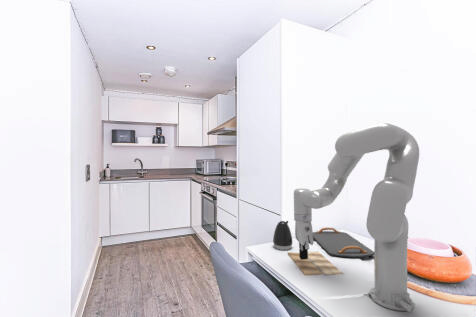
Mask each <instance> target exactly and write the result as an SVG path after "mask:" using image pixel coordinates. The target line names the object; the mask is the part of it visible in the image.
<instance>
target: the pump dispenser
mask: <svg viewBox="0 0 476 317" xmlns="http://www.w3.org/2000/svg"><path fill="white" fill-rule="evenodd" d="M288 224H289V220H280V221H279V222H277V225H276V226H275V229H274V233H273V236H272V237H273V238H272V243H273V245H274V248H275V249H277V250H279V251H289V250H290V249H291V248H292V245H293V236H292V232H291V228H290V226H289V225H288Z"/></svg>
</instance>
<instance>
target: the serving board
mask: <svg viewBox="0 0 476 317" xmlns="http://www.w3.org/2000/svg"><path fill="white" fill-rule="evenodd" d="M313 240H315V241H316V242H317V244H319V246H321V248H322V249H323V250H325V252H326V253H327V254H329V255H330V256H332V257H344V258H366V257H367V258H369V259H374V250H372V249H371V248H369V247H367V246H366V245H365V244H363V243H362V242H360V241H359V240H358V239H357V238H355V237H353V236H351V235H350V234H348V233H347V232H342V231H339V230H336V229H335V228H334V227H322V228H320V229H319V230H318V231H313Z"/></svg>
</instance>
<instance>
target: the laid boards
mask: <svg viewBox="0 0 476 317" xmlns="http://www.w3.org/2000/svg"><path fill="white" fill-rule="evenodd" d="M308 258H309V259H310V261H311V262H312V263H313V264H314V265H315V266H316V267H317V268H318V269H319V270H320V271H321V272H322V273H323V275H324V276H334V275H336V276H339V275H344V273H343V272H342V271H341V270H340V269H339V268H338V267H337V266H336V265H335V264H334V263H332V261H330V260H329V259H327V257H326V256H324V255H323V254H322V253H321V252H320V251H308Z"/></svg>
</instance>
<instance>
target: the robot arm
mask: <svg viewBox="0 0 476 317" xmlns="http://www.w3.org/2000/svg"><path fill="white" fill-rule="evenodd" d="M334 150H335V151H336V153H335V155H334V156H333V157H332V158H331V160H330V162H329V163H328V165H327V170H328V177H327V179H326V181H325V183H324V185H323V186H322V187H321V188H319V189H314V190H310V189H309V188H295V189H294V190H293V221H294V222H295V227H294V231H295V232H294V233H295V234H294V236H295V240H296V241H297V242H298V247H299V248H298V251H299V252H298V253H299V257H300V259H301V260H304V259H308V252H309V250H310V246H313V245H314V238H313V232H314V231H313V224H312V222H313V220H312V219H313V218H312V217H313V216H312V214H313V213H312V209H315V210H317V209H318V210H319V209H322V208H324V207H327V206H330V205H332V204H333V203H334V202H335V201H336V199H337V198H338V197H339V195H340V193H341V192H342V190H343V189H344V187H345V185H346V182H347V179H348V178H349V176H350V174H351V173H352V172H353V170H354V169H355V168H356V166H357V165H358V164H359V162H360V161H361V159H362V158H363V157H364V156H365V154H369V153H373V152H378V151H383V150H385V151H388V153H389V155H388V159H387V162H386V168H385V172H384V176H383V179H382V180H380V181H378V182H377V183H376V184H375V185H374V188H373V190H372V192H371V196H370V202H369V207H368V212H367V216H366V222H365V223H366V230H367V232H368V234H369V235H370V236H371V238H373V240H374V250H373V251H374V255H373V259H374V260H373V261H374V262H373V263H374V270H373V271H374V274H373V275H374V286H373V287H372V288H370V290H369V297H370V298H371V300H372V301H373V302H375V303H376V304H378V305H379V306H382V307H383V308H386V309H389V310H394V311H399V312H400V311H401V312H405V311H406V312H408V313H409V312H411V311H412V310H413V308H416V303H414V301H413V299H412V298H411V296H410V293H409V292H408V239H409V238H408V237H409V221H408V217H407V216H406V215H405V213H406V209H407V204H408V203H410V201H411V200H412V199H413V195H414V187H415V182H416V178H417V177H416V176H417V173H418V172H417V171H418V166H419V159H420V147H419V143H418V142H417V140H416V138H415V137H414V135H412V134H411V133H410V132H409V131H407V130H405V129H404V128H401V127H400V126H398V125H395V124H391V123H387V122H380V123H376V124H372V125H369V126H366V127H363V128H360V129H357V130H353V131H350V132H347V133H344V134H342V135H340V136H339V137H338V138H337V139H336V141H335V143H334Z"/></svg>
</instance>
